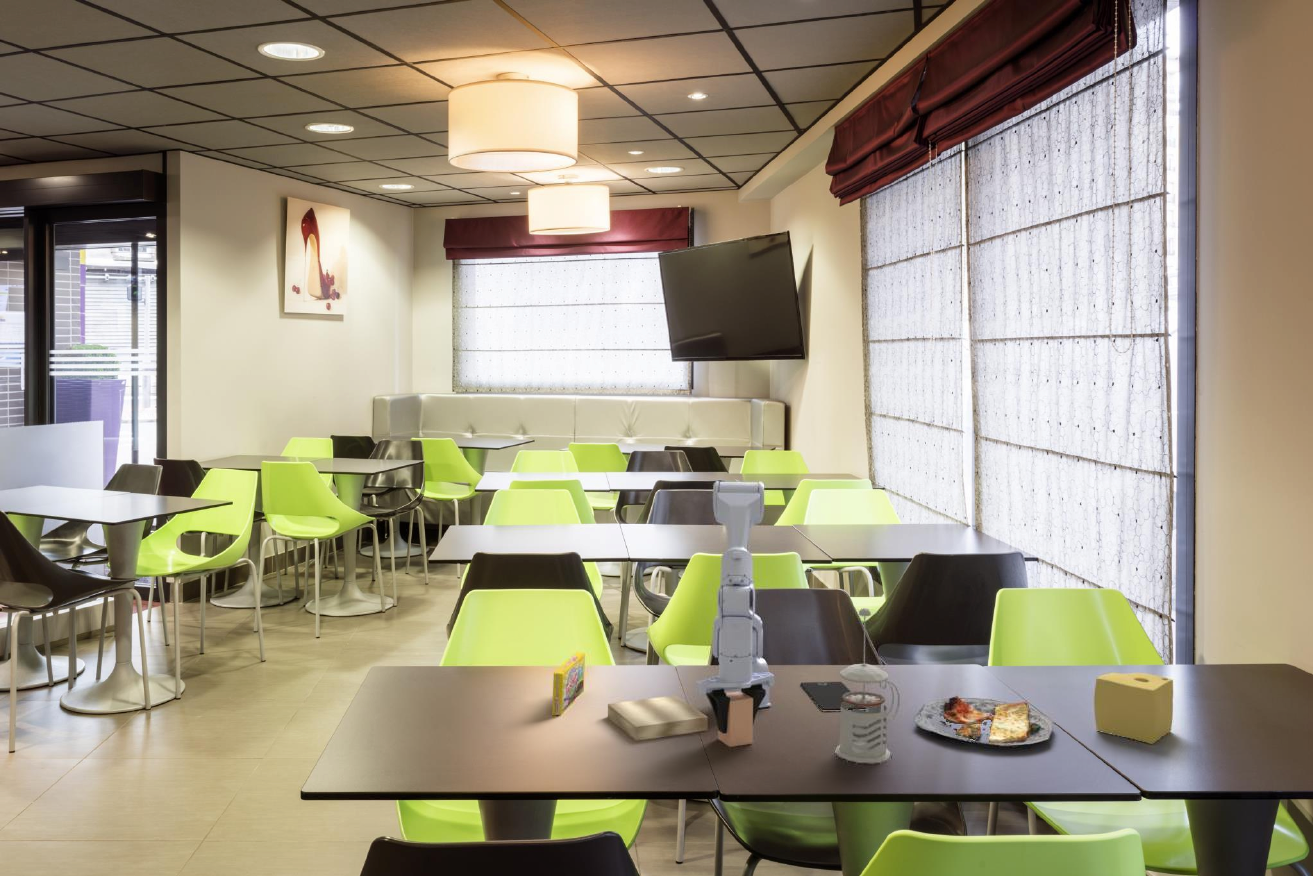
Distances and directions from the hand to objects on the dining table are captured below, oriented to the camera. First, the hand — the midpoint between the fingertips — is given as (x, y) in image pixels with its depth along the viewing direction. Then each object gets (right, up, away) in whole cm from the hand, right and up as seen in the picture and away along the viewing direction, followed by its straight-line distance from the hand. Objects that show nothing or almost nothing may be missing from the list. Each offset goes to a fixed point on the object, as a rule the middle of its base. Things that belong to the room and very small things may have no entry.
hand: (735, 729), depth 179 cm
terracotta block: (0, -2, 0) cm, 2 cm away
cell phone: (+22, -2, +26) cm, 34 cm away
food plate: (+46, -2, +7) cm, 47 cm away
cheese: (+73, -2, +6) cm, 73 cm away
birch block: (-14, -2, +9) cm, 17 cm away
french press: (+22, -3, -6) cm, 23 cm away
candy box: (-31, -1, +21) cm, 38 cm away
